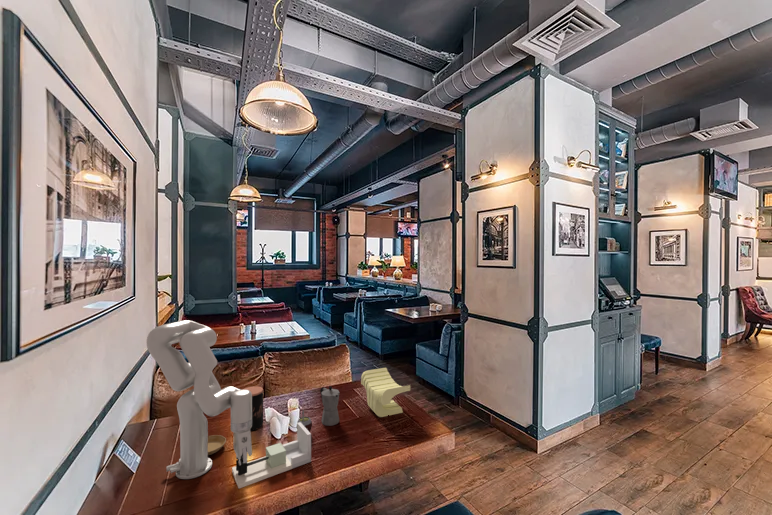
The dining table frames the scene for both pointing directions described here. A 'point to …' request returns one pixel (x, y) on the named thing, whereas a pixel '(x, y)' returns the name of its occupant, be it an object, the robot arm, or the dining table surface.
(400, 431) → the dining table surface
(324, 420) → the coffeepot
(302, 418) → the mate gourd
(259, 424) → the coffee jar
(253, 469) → the shelf lane
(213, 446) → the plant saucer
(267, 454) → the cord block
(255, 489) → the dining table surface
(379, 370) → the slatted curved stool
